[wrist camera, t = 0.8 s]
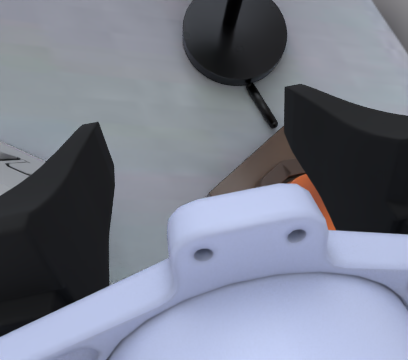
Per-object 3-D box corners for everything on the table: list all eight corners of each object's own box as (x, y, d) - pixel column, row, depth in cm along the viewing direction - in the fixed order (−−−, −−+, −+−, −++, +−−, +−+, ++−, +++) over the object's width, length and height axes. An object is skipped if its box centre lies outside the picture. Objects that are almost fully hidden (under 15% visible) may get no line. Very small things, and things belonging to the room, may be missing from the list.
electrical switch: (100, 185, 29) (57, 172, 19) (70, 245, 28) (13, 262, 19) (-8, 136, 29) (-102, 100, 19) (-39, 196, 28) (-151, 188, 19)
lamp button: (346, 210, 26) (360, 207, 24) (304, 252, 25) (316, 252, 23) (304, 166, 27) (315, 159, 25) (262, 205, 26) (270, 202, 24)
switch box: (370, 227, 30) (399, 225, 26) (299, 300, 28) (320, 309, 24) (279, 131, 31) (294, 114, 27) (205, 197, 29) (211, 189, 25)
